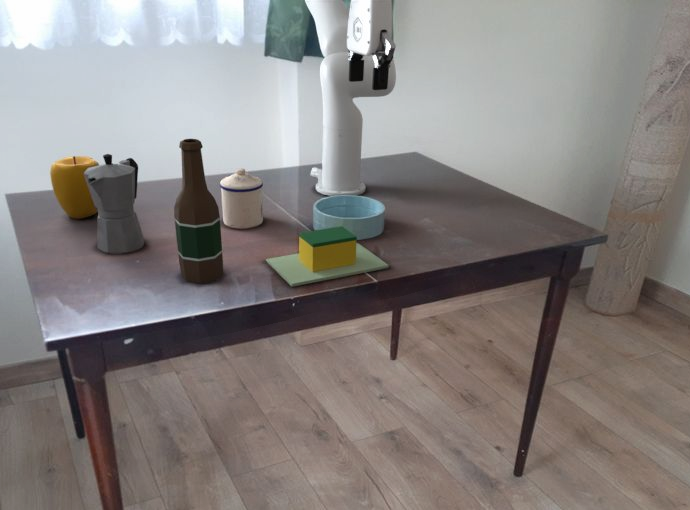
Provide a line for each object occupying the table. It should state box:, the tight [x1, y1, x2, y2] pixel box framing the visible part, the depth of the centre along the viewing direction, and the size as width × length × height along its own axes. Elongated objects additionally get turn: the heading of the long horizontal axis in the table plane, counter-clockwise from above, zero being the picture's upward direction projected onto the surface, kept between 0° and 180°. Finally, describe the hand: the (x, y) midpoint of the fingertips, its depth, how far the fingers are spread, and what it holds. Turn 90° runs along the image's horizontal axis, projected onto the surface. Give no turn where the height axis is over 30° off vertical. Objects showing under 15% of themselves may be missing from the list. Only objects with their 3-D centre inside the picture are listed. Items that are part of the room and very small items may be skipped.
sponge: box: [298, 226, 358, 272], centre depth 118 cm, size 9×6×6 cm, turn 116°
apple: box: [49, 155, 100, 220], centre depth 137 cm, size 11×11×13 cm
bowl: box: [312, 195, 386, 241], centre depth 135 cm, size 15×15×5 cm
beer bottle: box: [173, 138, 224, 285], centre depth 109 cm, size 8×8×24 cm
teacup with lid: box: [219, 167, 264, 230], centre depth 137 cm, size 12×9×12 cm
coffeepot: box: [84, 153, 145, 255], centre depth 123 cm, size 15×9×18 cm, turn 162°
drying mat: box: [266, 242, 390, 287], centre depth 120 cm, size 20×12×1 cm, turn 116°
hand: (367, 85), depth 127 cm, fingers open, 9 cm apart
